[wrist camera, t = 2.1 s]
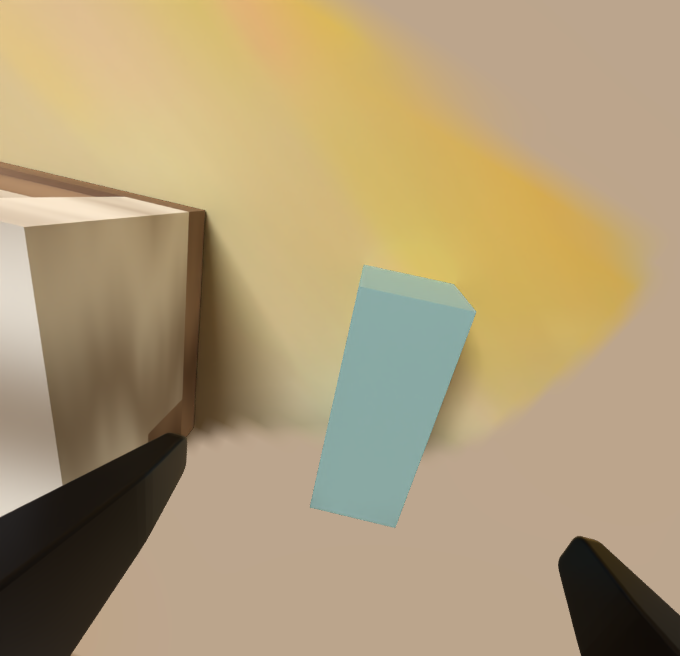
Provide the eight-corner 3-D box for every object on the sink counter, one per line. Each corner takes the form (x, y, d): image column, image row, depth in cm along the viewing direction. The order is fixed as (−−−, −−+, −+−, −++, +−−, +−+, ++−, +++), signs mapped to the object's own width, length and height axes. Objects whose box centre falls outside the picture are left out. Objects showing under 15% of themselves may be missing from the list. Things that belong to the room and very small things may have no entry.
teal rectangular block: (392, 462, 14) (395, 527, 11) (323, 446, 14) (309, 507, 12) (452, 282, 11) (476, 311, 8) (364, 263, 11) (358, 286, 8)
